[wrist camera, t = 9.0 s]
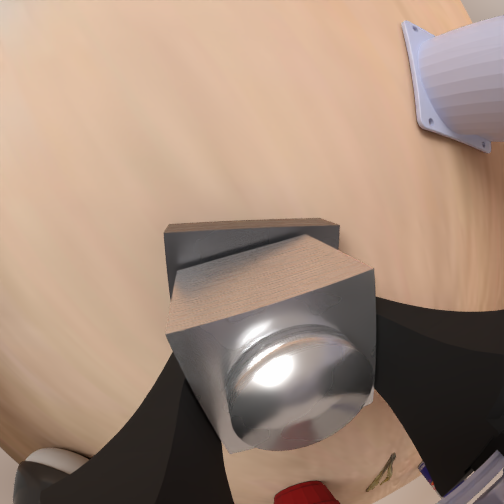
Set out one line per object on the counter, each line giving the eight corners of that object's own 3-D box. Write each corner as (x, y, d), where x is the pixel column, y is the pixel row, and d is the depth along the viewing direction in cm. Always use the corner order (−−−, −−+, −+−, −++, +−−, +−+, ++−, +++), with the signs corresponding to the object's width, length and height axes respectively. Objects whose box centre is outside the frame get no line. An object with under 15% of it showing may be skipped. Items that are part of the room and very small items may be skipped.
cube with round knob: (305, 234, 10) (399, 281, 5) (322, 339, 12) (387, 420, 7) (177, 270, 10) (160, 361, 5) (216, 373, 11) (234, 477, 6)
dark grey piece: (319, 218, 13) (382, 241, 8) (300, 411, 16) (327, 464, 12) (168, 224, 12) (151, 254, 7) (198, 425, 15) (204, 487, 10)
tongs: (398, 444, 24) (406, 454, 22) (384, 475, 28) (389, 483, 26) (370, 460, 23) (377, 471, 21) (361, 487, 28) (366, 495, 26)
